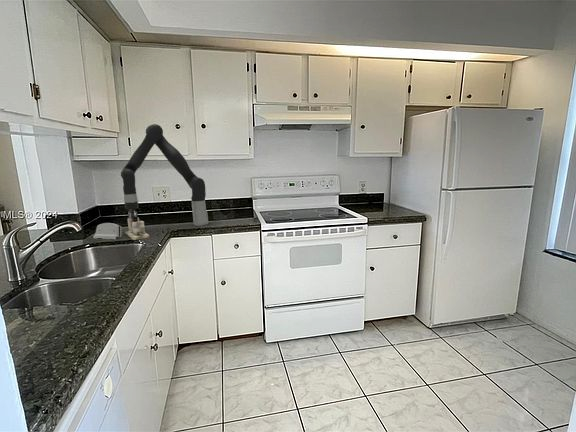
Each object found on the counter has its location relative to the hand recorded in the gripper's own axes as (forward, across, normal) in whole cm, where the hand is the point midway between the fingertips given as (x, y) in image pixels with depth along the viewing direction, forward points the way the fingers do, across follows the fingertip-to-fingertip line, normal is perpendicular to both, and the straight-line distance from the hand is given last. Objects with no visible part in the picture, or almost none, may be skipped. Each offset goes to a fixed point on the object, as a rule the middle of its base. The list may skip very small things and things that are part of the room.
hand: (134, 227), depth 200 cm
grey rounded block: (+5, -5, -14) cm, 16 cm away
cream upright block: (+2, 0, 0) cm, 2 cm away
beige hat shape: (+4, +4, 0) cm, 6 cm away
